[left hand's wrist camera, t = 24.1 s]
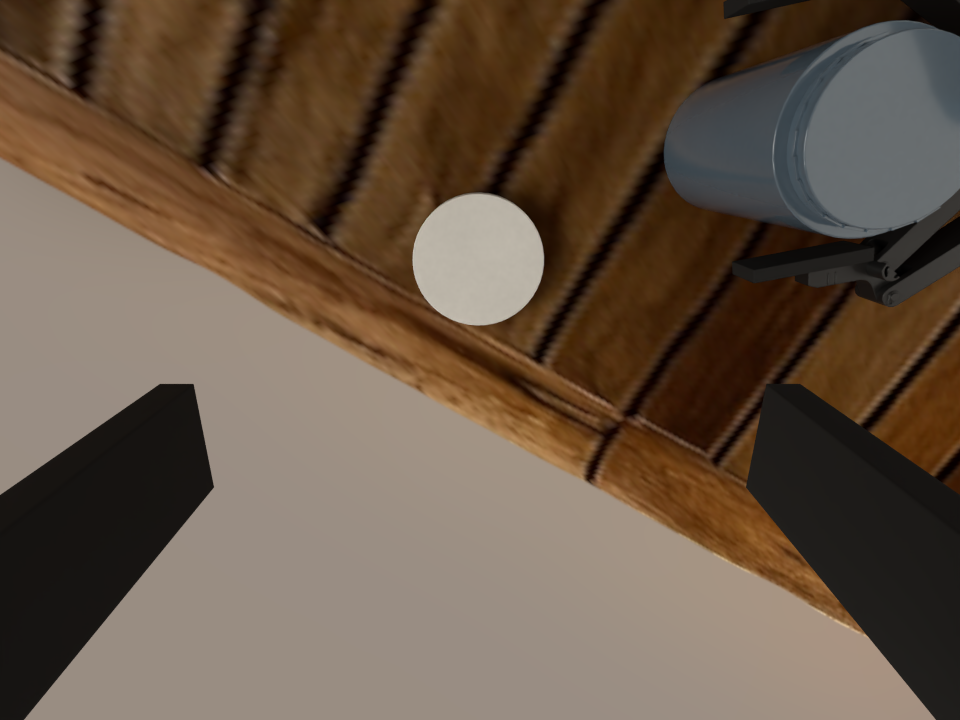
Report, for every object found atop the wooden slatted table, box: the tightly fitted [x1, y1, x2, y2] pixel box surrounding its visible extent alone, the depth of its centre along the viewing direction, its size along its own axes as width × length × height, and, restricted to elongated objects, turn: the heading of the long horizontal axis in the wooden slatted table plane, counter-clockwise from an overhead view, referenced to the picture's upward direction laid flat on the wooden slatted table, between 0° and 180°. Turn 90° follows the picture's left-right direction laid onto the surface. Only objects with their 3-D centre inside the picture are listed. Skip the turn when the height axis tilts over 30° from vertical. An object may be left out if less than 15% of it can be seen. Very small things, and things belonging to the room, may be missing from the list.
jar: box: [664, 20, 960, 239], centre depth 28 cm, size 8×8×15 cm
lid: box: [413, 192, 544, 325], centre depth 37 cm, size 9×9×2 cm
